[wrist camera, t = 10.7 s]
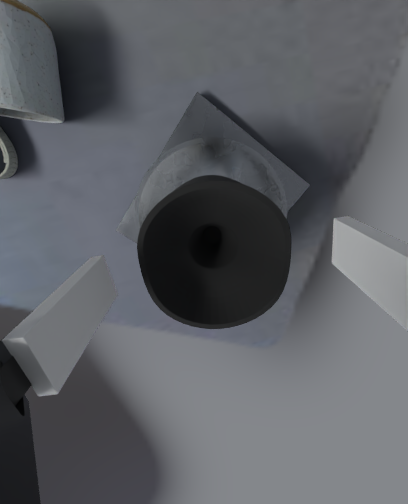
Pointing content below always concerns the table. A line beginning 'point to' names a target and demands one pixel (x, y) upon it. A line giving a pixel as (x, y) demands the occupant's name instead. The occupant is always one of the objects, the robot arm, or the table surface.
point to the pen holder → (214, 253)
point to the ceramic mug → (28, 66)
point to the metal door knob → (211, 164)
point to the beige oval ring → (8, 156)
